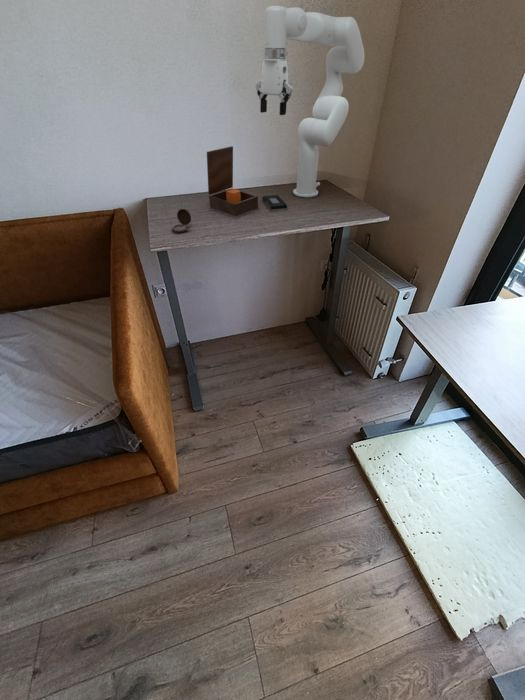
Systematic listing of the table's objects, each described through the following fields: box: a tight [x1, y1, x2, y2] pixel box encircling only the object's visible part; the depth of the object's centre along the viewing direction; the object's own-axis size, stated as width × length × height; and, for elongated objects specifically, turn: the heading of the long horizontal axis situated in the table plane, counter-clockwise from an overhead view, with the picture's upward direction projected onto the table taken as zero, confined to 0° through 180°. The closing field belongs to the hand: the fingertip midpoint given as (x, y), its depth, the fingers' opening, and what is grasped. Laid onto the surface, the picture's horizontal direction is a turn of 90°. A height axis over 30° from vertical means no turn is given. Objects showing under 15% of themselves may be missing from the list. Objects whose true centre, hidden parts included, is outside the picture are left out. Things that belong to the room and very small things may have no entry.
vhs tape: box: [262, 194, 288, 211], centre depth 156 cm, size 8×14×2 cm, turn 15°
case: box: [208, 187, 259, 217], centre depth 150 cm, size 16×14×6 cm
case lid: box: [206, 145, 234, 196], centre depth 147 cm, size 17×14×5 cm
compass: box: [171, 208, 192, 234], centre depth 132 cm, size 8×8×7 cm
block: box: [226, 188, 241, 204], centre depth 150 cm, size 4×4×7 cm
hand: (272, 113), depth 131 cm, fingers open, 9 cm apart
